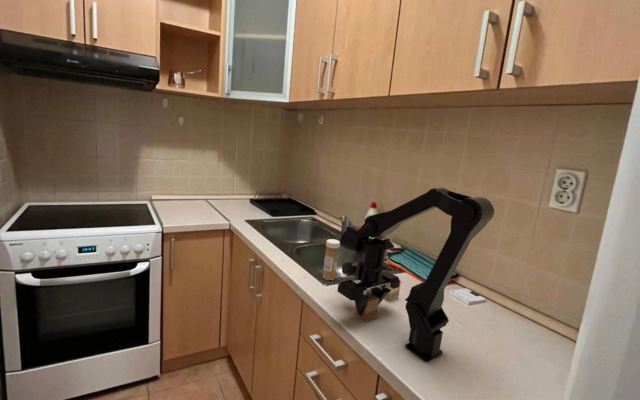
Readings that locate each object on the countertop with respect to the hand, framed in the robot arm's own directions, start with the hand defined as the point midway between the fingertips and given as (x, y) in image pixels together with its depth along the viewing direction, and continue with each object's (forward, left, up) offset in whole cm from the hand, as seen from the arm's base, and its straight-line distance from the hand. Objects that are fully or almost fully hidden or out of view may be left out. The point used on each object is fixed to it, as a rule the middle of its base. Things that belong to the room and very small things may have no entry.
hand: (365, 313), depth 95 cm
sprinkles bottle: (+24, -6, -1) cm, 25 cm away
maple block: (+5, -15, -1) cm, 16 cm away
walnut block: (0, 0, -1) cm, 1 cm away
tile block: (+11, -7, -1) cm, 13 cm away
